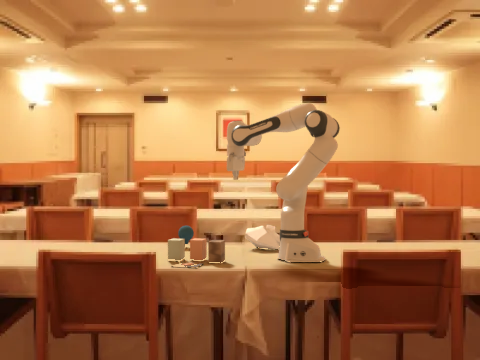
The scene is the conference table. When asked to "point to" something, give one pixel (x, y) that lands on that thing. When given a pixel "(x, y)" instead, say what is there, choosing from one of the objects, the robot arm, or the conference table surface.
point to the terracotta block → (198, 249)
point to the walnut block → (216, 251)
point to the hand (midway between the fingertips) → (235, 179)
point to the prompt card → (191, 264)
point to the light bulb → (186, 233)
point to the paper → (263, 237)
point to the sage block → (176, 249)
